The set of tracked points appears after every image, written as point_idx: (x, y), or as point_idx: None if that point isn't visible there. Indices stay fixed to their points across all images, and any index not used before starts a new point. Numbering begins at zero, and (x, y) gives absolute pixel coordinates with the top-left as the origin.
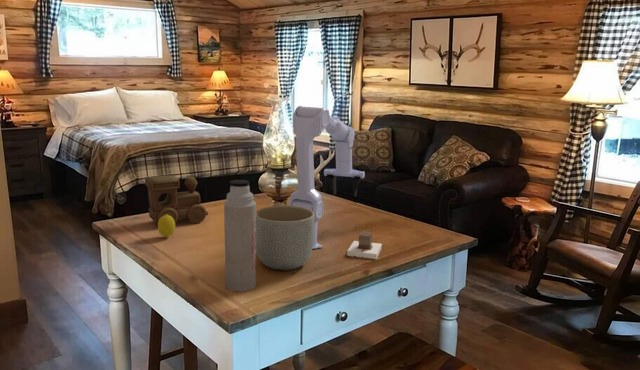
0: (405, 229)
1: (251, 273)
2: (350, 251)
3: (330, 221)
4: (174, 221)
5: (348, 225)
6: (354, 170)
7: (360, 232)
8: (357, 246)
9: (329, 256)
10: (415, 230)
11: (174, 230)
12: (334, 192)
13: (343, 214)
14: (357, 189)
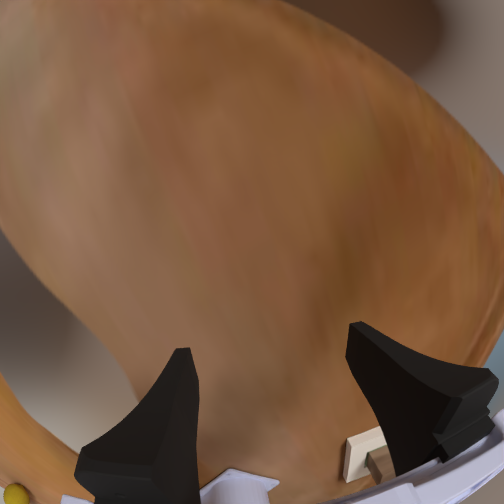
0: (458, 231)
1: None
2: (352, 480)
3: (178, 282)
4: (17, 502)
5: (277, 296)
6: (468, 483)
7: (381, 479)
8: (363, 461)
9: (310, 491)
10: (477, 226)
11: (24, 494)
12: (197, 396)
13: (184, 135)
14: (391, 342)
